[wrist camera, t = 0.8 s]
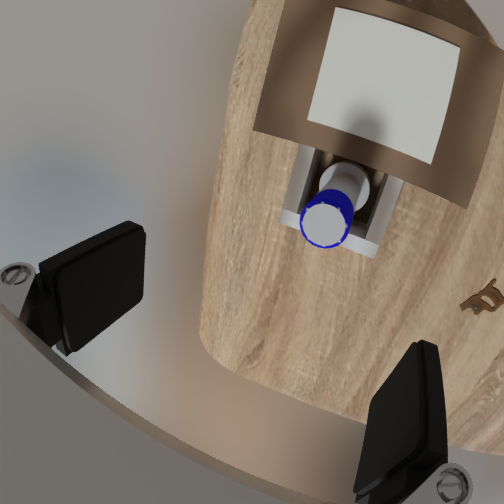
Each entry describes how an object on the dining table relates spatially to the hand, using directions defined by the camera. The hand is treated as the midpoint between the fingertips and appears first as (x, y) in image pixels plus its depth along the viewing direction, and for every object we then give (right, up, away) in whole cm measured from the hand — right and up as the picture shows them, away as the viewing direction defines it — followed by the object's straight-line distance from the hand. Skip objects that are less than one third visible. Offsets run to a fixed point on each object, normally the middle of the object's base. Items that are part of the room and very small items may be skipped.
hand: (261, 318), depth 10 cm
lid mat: (+10, +15, +9) cm, 20 cm away
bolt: (+10, +9, +22) cm, 26 cm away
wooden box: (+12, +14, +19) cm, 27 cm away
